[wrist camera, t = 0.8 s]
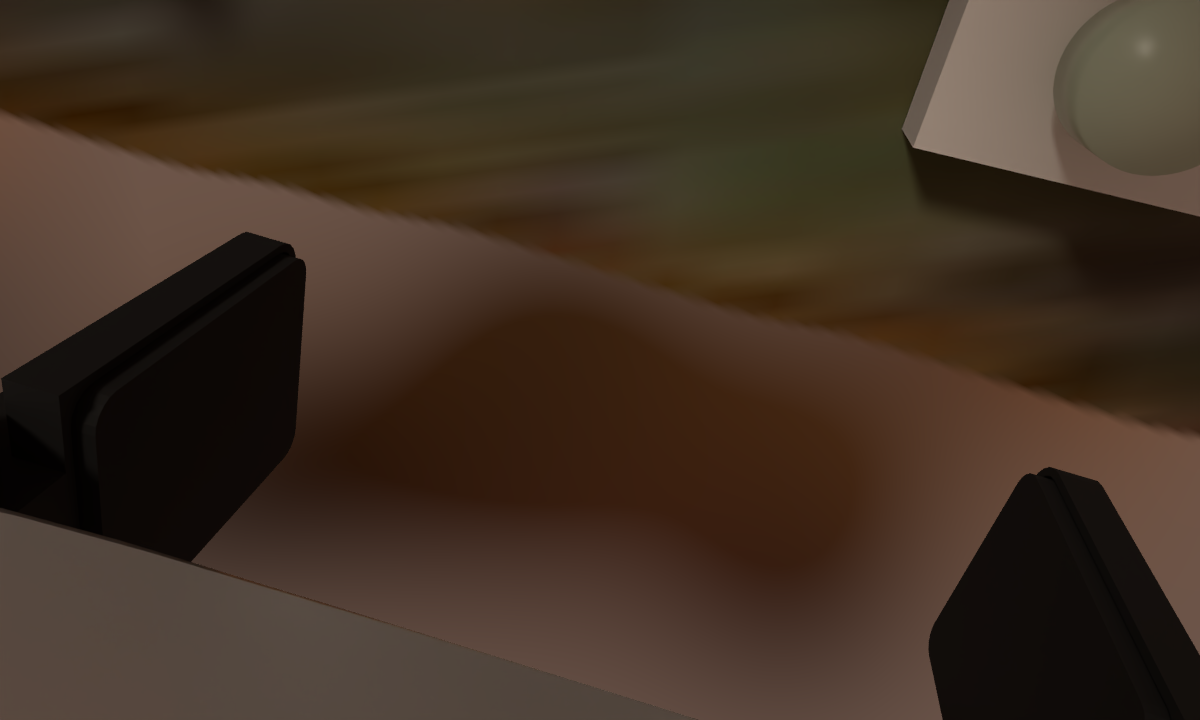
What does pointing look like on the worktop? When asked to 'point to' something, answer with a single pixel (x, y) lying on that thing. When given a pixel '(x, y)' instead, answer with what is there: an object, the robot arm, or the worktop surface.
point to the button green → (1135, 86)
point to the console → (1020, 100)
